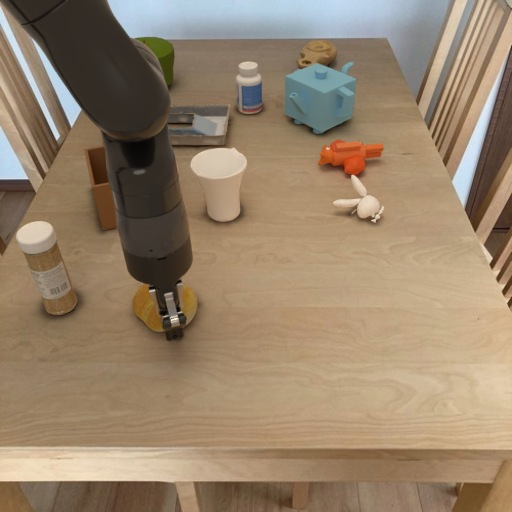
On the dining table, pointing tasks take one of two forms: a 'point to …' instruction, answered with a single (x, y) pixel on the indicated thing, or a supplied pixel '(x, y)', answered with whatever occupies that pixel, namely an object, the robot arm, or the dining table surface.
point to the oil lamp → (317, 54)
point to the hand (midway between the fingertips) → (174, 336)
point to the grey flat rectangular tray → (199, 124)
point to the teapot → (320, 96)
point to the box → (101, 186)
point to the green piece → (161, 54)
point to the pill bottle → (249, 88)
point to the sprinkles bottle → (47, 266)
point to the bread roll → (147, 310)
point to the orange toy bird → (349, 155)
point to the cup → (220, 180)
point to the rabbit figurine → (361, 202)
